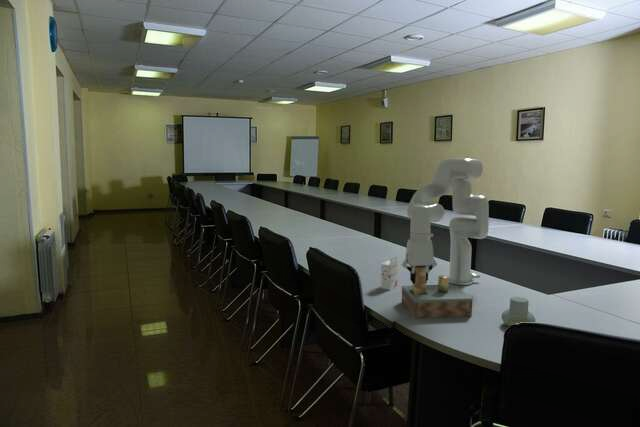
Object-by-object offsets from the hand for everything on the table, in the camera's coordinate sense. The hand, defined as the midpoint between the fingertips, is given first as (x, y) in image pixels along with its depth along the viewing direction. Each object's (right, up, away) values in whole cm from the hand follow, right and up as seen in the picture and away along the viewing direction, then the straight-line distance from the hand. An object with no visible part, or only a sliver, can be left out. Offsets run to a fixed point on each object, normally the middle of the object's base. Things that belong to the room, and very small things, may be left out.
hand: (419, 281), depth 168 cm
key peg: (0, -9, +1) cm, 9 cm away
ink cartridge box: (-7, -7, +31) cm, 32 cm away
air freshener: (+31, -14, -16) cm, 38 cm away
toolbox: (+7, -11, +2) cm, 13 cm away
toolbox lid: (+7, -5, +1) cm, 8 cm away
